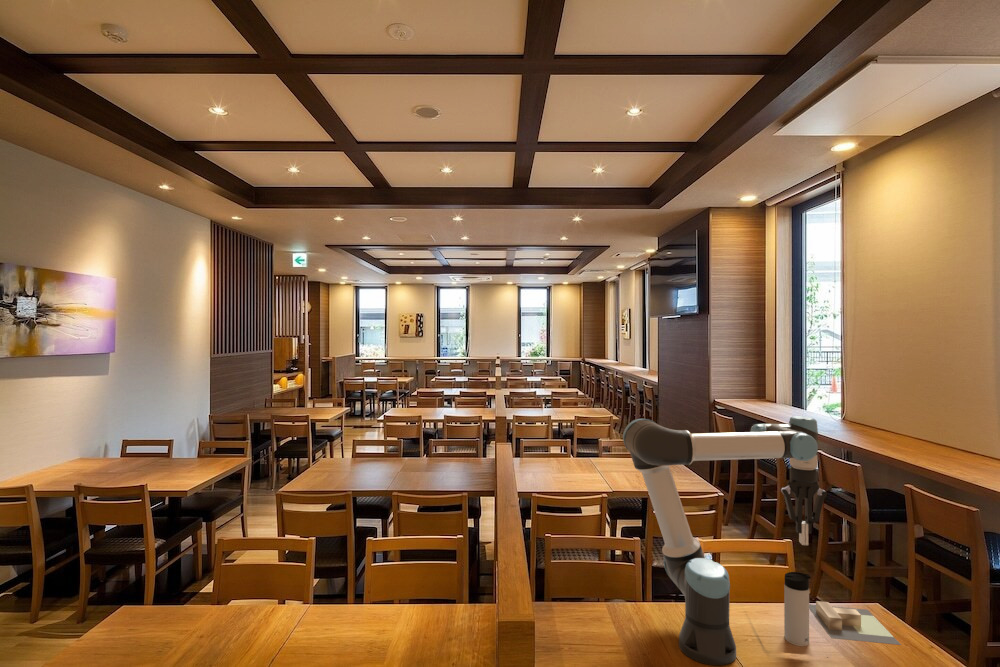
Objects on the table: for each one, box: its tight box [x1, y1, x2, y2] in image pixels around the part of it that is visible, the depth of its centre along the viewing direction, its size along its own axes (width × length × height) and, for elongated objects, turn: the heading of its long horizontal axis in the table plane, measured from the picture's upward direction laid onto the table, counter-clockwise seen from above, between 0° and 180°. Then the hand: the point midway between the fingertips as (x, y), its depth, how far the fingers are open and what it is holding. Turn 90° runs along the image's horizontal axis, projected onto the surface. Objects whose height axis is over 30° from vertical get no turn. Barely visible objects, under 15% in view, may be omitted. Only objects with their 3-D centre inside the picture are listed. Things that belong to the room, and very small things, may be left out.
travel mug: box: [783, 571, 811, 647], centre depth 155 cm, size 6×7×20 cm
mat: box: [809, 603, 902, 646], centre depth 164 cm, size 18×20×1 cm
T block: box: [815, 600, 861, 630], centre depth 164 cm, size 10×10×4 cm
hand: (803, 543), depth 166 cm, fingers closed
